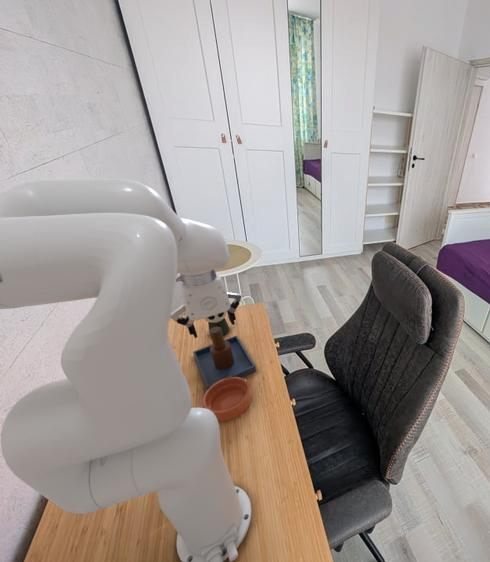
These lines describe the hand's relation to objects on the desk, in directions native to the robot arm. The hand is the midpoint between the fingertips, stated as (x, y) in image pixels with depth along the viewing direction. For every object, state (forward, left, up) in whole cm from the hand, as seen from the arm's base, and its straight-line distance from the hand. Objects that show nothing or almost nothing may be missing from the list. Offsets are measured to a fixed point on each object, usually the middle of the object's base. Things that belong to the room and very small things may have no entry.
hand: (214, 328), depth 80 cm
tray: (+1, 0, -15) cm, 15 cm away
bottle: (+1, 0, -14) cm, 14 cm away
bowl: (-14, +3, -15) cm, 21 cm away
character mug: (+18, -3, -15) cm, 23 cm away
